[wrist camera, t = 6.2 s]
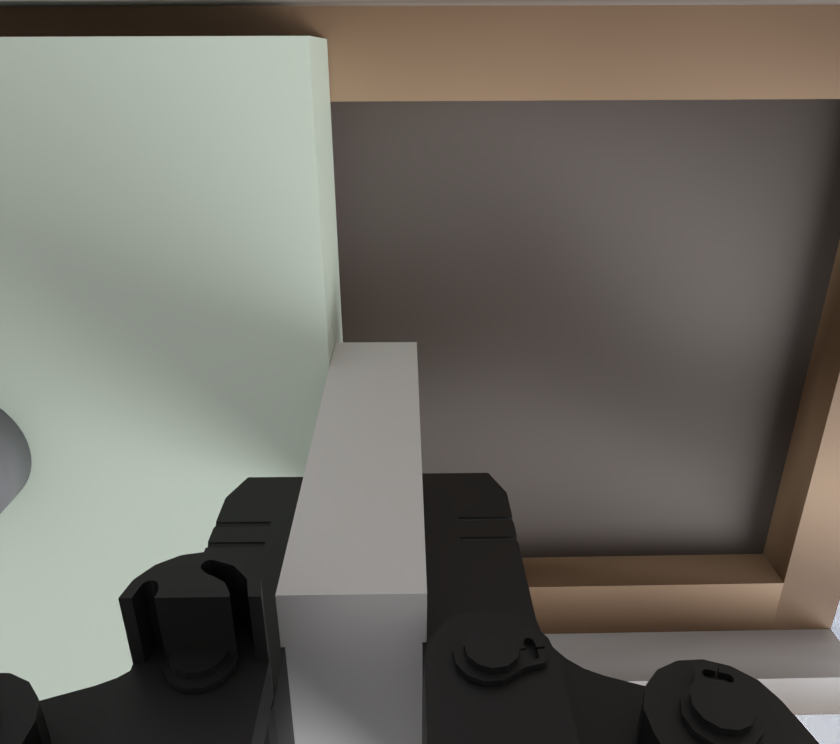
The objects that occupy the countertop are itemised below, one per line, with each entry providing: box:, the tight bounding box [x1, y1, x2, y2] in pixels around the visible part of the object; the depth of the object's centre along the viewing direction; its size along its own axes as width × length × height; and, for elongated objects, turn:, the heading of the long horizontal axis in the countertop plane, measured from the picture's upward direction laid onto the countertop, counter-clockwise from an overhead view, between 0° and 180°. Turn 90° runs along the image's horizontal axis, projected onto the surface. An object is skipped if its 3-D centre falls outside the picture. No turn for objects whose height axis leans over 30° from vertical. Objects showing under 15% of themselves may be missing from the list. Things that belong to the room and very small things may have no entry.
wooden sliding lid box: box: [0, 0, 840, 715], centre depth 15 cm, size 18×27×3 cm, turn 90°
